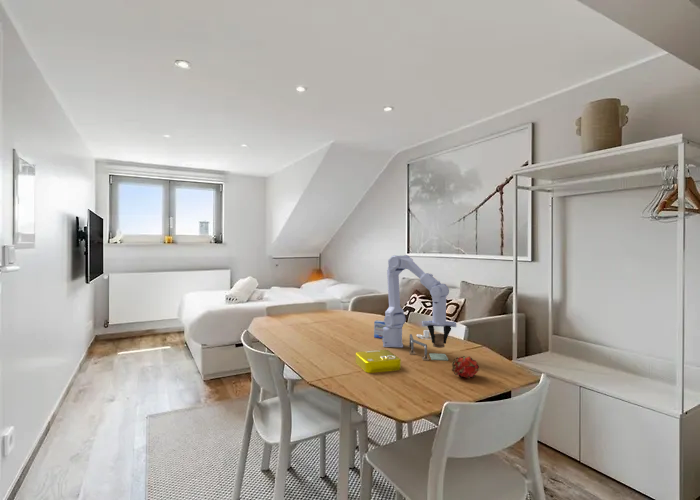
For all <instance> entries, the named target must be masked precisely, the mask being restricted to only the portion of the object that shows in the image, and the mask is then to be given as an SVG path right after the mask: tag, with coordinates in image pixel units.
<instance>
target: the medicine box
mask: <svg viewBox="0 0 700 500" xmlns="http://www.w3.org/2000/svg"><path fill="white" fill-rule="evenodd" d="M373 326H374V327H373V338H374V339H383V327H386V325H385V323H384V320H381V319H380V320H379V319H376V320H374V323H373Z"/></svg>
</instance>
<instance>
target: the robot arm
mask: <svg viewBox="0 0 700 500" xmlns="http://www.w3.org/2000/svg"><path fill="white" fill-rule="evenodd" d="M405 270H409V271H410V272H411V273H412V274H414V275H415V276H416V277H417V278H418V279H419V282H420V284H421V285H422V286H423V287H425V288H426V289H427V291H429V294H430V295H431V298H432V299H431V300H432V320H422V321H421V326H422V327H426V328H427V330H429V336H430V335H431V337H430V340H431V343H432V344H434V334H435V327H441V328H442V327H443V335H444V345H445V344H447V339H448V336H449V334H450V332H451V331H452V328H457V322H456V321H449V320H448V321H447V297H448V295H449V293H450V289H449V287H448V285H447V284H446V283H441V281H440V280H438V279H436V278H435V277H434V274H433V273H429V272H425V271H424V270H423V269H422V268H421V267H420V266H419V265H418V264H417V263H415V262H414V259H413V258H412V257H411V256H409V255H407V254H405V255H395V254H394V255H391V257H390V258H389V259H388V260H387V270H386V271H387V273H386V275H387V292H388V293H387V295H388V296H387V297H388V308H387V309H386V310H385V312H384V315H385V316H384V318H383V321H384V323H385V325H386V327H383V338H382V347H383V348H404V344H403V327H404V324H405V323H406V315H405V310H404V309H403V308H402V307H401V295H400V276H399V275H400V274H402V272H403V271H405Z"/></svg>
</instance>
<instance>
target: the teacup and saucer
mask: <svg viewBox="0 0 700 500" xmlns="http://www.w3.org/2000/svg"><path fill="white" fill-rule="evenodd" d="M416 337H417V338H420V339H422V340H424V339H430V338H431V335H430V332H429V329H423V335H422V334H421V333H420V334H418V333H417V334H416Z"/></svg>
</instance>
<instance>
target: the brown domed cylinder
mask: <svg viewBox="0 0 700 500" xmlns="http://www.w3.org/2000/svg"><path fill="white" fill-rule="evenodd" d="M432 347H434V348H438V349H439V348H440V349H441V348H443V349H444V348H445V347H446V346H445V344H444V333H434V343H432Z"/></svg>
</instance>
